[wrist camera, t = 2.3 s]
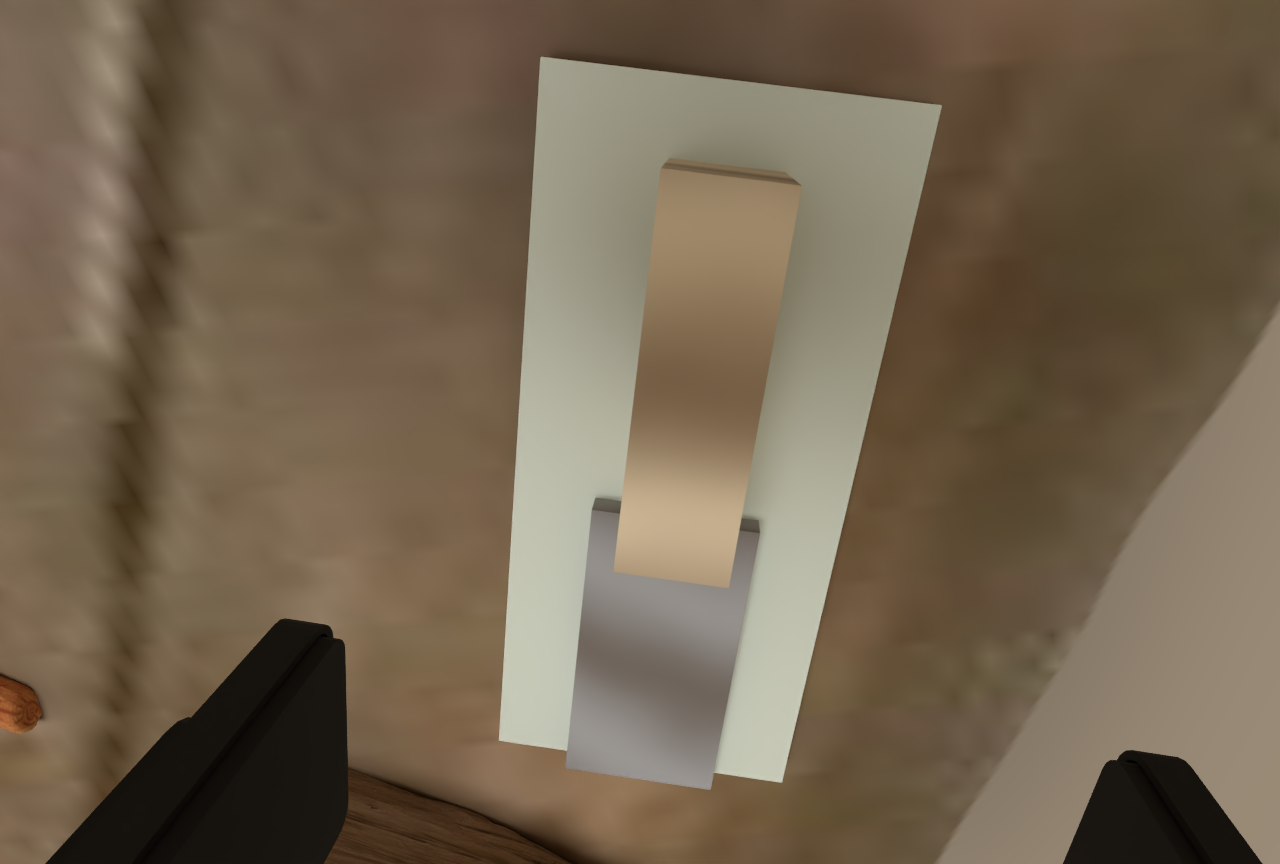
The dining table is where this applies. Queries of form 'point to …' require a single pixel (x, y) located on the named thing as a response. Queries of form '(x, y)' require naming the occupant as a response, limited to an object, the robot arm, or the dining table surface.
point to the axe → (18, 706)
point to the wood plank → (423, 831)
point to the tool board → (609, 349)
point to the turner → (683, 482)
